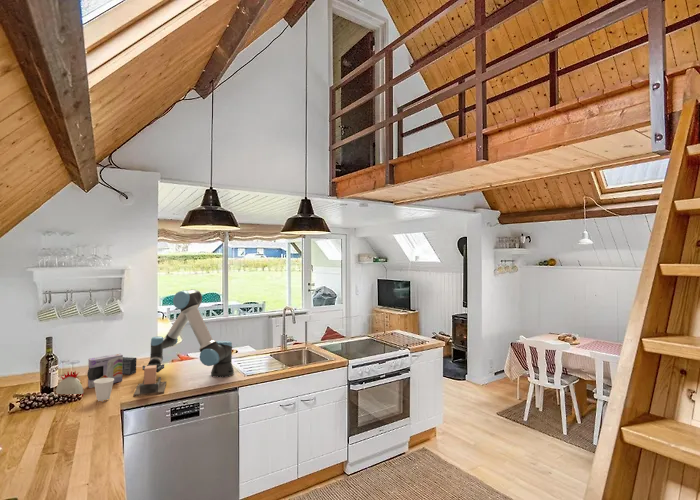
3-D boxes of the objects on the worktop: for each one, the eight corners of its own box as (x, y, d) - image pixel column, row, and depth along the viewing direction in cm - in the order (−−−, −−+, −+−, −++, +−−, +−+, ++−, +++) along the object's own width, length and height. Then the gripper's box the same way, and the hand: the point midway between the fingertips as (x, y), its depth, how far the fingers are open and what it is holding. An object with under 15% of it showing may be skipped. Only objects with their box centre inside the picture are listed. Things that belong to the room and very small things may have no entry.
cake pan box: (87, 388, 237) (88, 359, 237) (85, 386, 240) (86, 358, 240) (122, 381, 251) (123, 354, 251) (120, 380, 254) (121, 353, 254)
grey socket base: (166, 383, 251) (166, 373, 251) (163, 393, 232) (164, 383, 232) (138, 385, 245) (138, 375, 245) (133, 396, 226) (133, 386, 226)
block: (155, 388, 237) (156, 365, 237) (154, 391, 231) (155, 367, 232) (144, 389, 235) (145, 365, 235) (143, 392, 229) (144, 368, 229)
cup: (117, 398, 223) (118, 378, 223) (101, 404, 214) (102, 384, 214) (104, 395, 226) (105, 376, 227) (88, 401, 217) (89, 381, 217)
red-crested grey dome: (83, 399, 221) (84, 372, 221) (52, 403, 213) (53, 376, 213) (83, 391, 232) (84, 366, 232) (54, 395, 224) (55, 369, 225)
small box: (136, 372, 271) (137, 357, 271) (130, 375, 264) (131, 359, 265) (122, 371, 272) (123, 356, 272) (116, 374, 265) (116, 359, 266)
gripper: (165, 368, 261) (162, 379, 239) (143, 370, 256) (138, 381, 234) (165, 357, 261) (162, 367, 239) (144, 358, 256) (138, 369, 234)
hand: (150, 374), depth 236 cm, fingers closed
